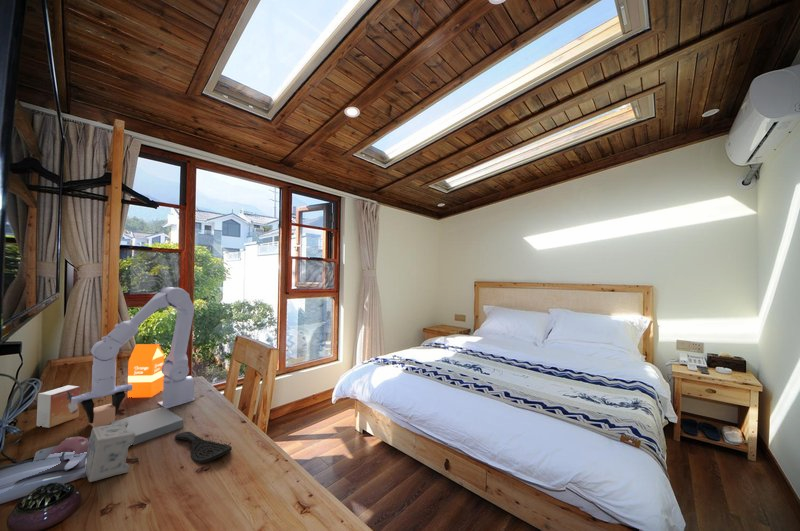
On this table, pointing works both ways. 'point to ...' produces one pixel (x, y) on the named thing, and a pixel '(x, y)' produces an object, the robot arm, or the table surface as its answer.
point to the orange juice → (145, 370)
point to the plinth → (152, 424)
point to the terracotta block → (103, 415)
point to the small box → (57, 406)
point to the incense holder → (108, 451)
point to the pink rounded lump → (72, 445)
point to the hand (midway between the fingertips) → (102, 418)
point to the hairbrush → (204, 447)
